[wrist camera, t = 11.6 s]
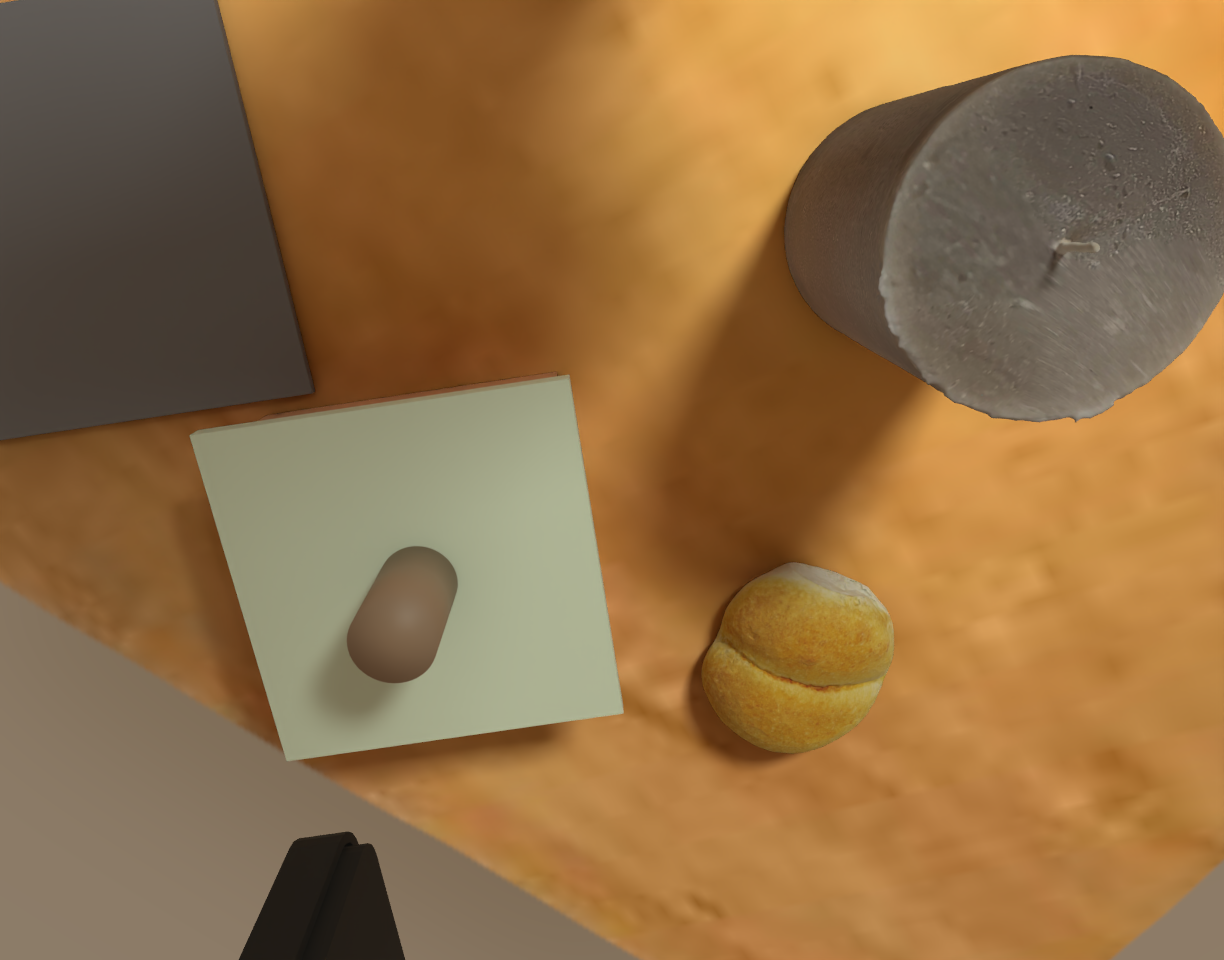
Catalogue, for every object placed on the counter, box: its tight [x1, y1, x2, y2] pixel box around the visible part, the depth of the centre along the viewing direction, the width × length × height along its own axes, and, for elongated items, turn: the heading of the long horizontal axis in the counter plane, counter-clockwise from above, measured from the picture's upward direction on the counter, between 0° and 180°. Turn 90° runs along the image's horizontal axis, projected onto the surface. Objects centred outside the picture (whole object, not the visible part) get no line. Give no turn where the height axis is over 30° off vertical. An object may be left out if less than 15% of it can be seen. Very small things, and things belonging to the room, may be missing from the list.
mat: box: [0, 0, 315, 440], centre depth 36 cm, size 16×16×1 cm
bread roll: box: [701, 562, 894, 754], centre depth 41 cm, size 8×9×4 cm
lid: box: [189, 375, 623, 761], centre depth 33 cm, size 14×14×6 cm
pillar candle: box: [784, 55, 1224, 422], centre depth 30 cm, size 10×10×15 cm
